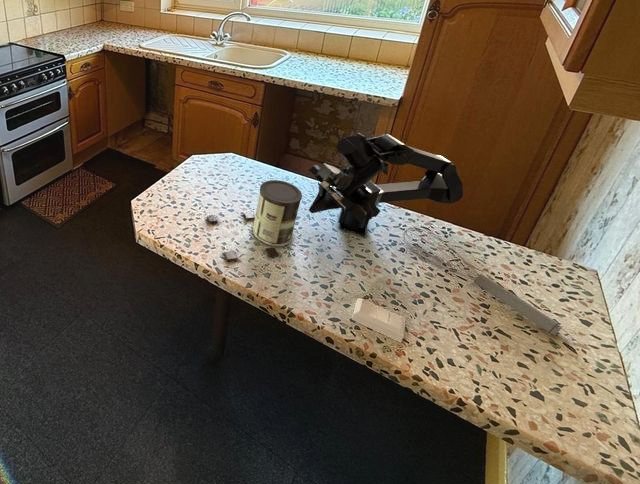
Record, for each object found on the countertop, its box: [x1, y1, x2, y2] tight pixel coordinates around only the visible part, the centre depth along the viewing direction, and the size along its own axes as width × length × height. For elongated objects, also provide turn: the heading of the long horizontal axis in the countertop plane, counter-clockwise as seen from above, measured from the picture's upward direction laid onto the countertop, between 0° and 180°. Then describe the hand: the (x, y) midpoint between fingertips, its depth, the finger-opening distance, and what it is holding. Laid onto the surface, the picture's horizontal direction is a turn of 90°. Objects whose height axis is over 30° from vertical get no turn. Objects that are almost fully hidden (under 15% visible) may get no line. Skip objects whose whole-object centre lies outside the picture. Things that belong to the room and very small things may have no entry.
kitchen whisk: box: [402, 226, 574, 342], centre depth 92 cm, size 6×34×6 cm, turn 28°
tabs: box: [206, 211, 279, 262], centre depth 108 cm, size 13×17×1 cm
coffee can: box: [252, 179, 303, 247], centre depth 106 cm, size 10×10×14 cm
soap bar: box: [351, 297, 406, 343], centre depth 84 cm, size 5×9×3 cm, turn 54°
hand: (310, 211), depth 107 cm, fingers closed
